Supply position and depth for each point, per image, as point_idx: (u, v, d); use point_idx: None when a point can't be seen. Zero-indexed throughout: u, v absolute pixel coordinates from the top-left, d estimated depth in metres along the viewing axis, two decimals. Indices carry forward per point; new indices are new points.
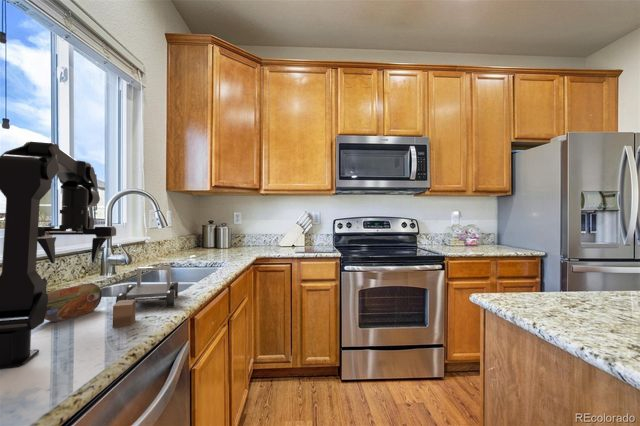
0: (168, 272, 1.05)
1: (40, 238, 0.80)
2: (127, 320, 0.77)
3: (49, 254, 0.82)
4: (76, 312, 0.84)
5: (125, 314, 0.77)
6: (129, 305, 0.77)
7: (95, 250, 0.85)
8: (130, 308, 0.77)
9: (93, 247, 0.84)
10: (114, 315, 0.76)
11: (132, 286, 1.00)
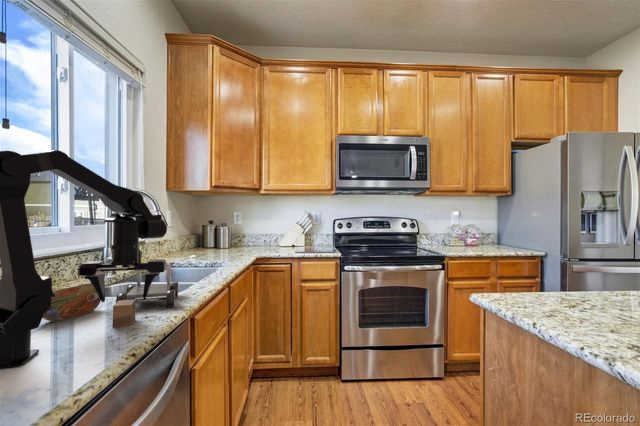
0: (168, 272, 1.05)
1: (91, 276, 0.74)
2: (127, 320, 0.77)
3: (100, 293, 0.76)
4: (76, 312, 0.84)
5: (125, 314, 0.77)
6: (129, 305, 0.77)
7: (147, 287, 0.79)
8: (130, 308, 0.77)
9: (145, 284, 0.79)
10: (114, 315, 0.76)
11: (132, 286, 1.00)
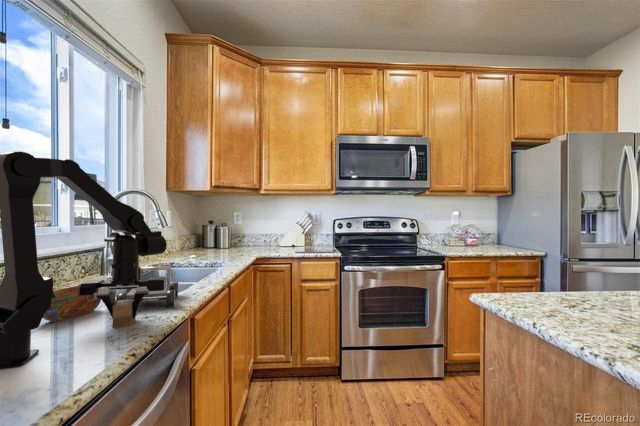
0: (168, 272, 1.05)
1: (103, 295, 0.75)
2: (127, 319, 0.77)
3: (112, 311, 0.77)
4: (76, 312, 0.84)
5: (126, 313, 0.77)
6: (129, 305, 0.77)
7: (137, 306, 0.78)
8: (130, 308, 0.77)
9: (135, 303, 0.78)
10: (114, 315, 0.76)
11: None
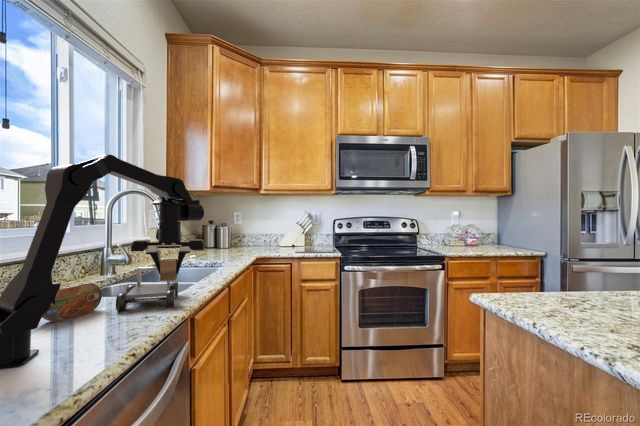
0: None
1: (152, 252, 0.85)
2: (172, 274, 0.87)
3: (159, 267, 0.87)
4: (76, 312, 0.84)
5: (171, 269, 0.87)
6: (174, 261, 0.87)
7: (180, 263, 0.88)
8: (175, 264, 0.87)
9: (178, 260, 0.88)
10: (161, 270, 0.86)
11: (132, 286, 1.00)
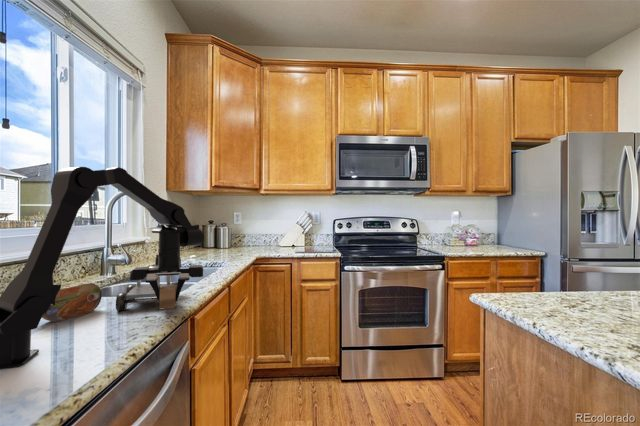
0: None
1: (151, 280, 0.85)
2: (172, 302, 0.87)
3: (158, 294, 0.87)
4: (76, 312, 0.84)
5: (170, 297, 0.87)
6: (173, 289, 0.87)
7: (179, 290, 0.88)
8: (174, 292, 0.87)
9: (178, 287, 0.88)
10: (160, 298, 0.86)
11: (132, 286, 1.00)
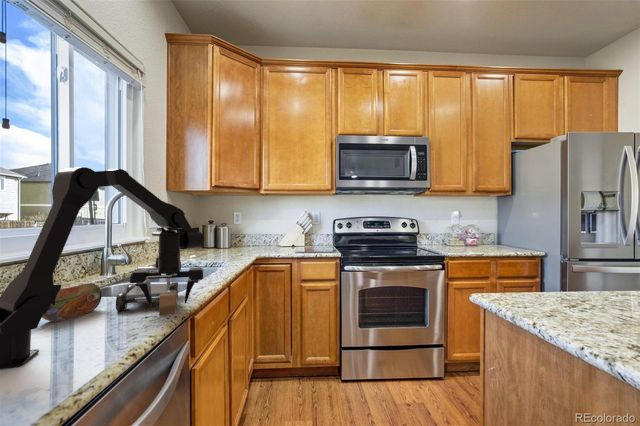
0: None
1: (142, 283, 0.84)
2: (172, 308, 0.87)
3: (148, 298, 0.86)
4: (76, 312, 0.84)
5: (170, 303, 0.87)
6: (173, 295, 0.87)
7: (188, 292, 0.89)
8: (174, 298, 0.87)
9: (187, 290, 0.89)
10: (160, 304, 0.86)
11: (132, 286, 1.00)
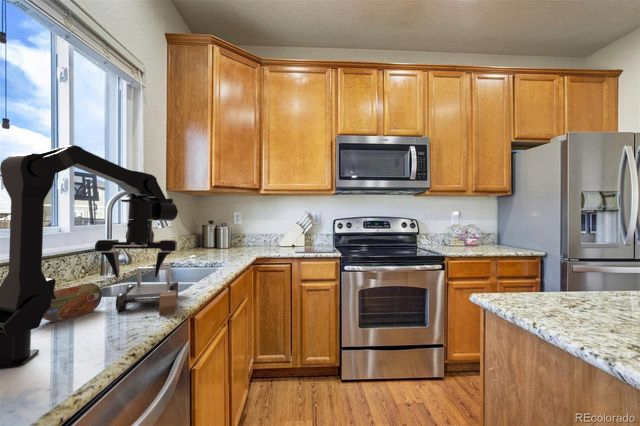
0: (168, 272, 1.05)
1: (107, 252, 0.78)
2: (172, 308, 0.87)
3: (115, 268, 0.80)
4: (76, 312, 0.84)
5: (170, 303, 0.87)
6: (173, 295, 0.87)
7: (159, 265, 0.83)
8: (174, 298, 0.87)
9: (157, 261, 0.83)
10: (160, 304, 0.86)
11: (132, 286, 1.00)
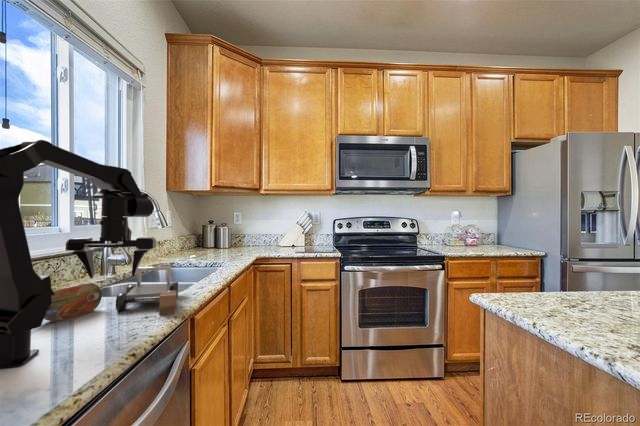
0: (168, 272, 1.05)
1: (79, 251, 0.74)
2: (172, 308, 0.87)
3: (89, 268, 0.76)
4: (76, 312, 0.84)
5: (170, 303, 0.87)
6: (173, 295, 0.87)
7: (136, 263, 0.79)
8: (174, 298, 0.87)
9: (134, 260, 0.79)
10: (160, 304, 0.86)
11: (132, 286, 1.00)
